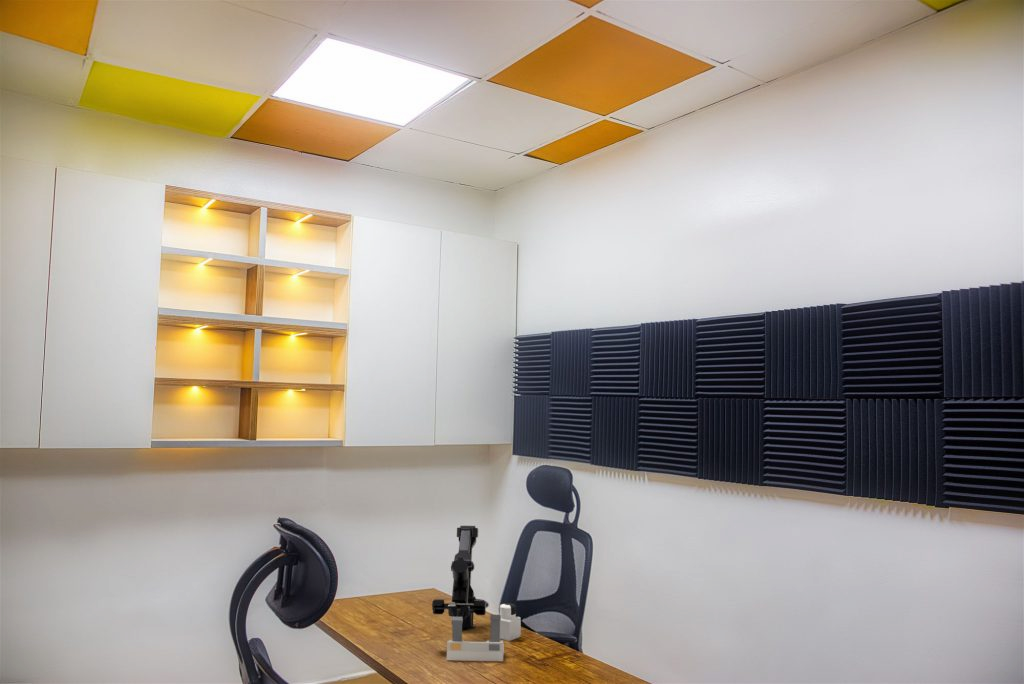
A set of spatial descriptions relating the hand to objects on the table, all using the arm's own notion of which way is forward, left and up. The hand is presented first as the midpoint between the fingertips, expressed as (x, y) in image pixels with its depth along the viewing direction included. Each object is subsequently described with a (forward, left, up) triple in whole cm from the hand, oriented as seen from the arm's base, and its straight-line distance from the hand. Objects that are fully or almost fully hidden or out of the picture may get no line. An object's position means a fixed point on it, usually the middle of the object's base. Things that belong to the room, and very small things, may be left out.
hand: (457, 629), depth 258 cm
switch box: (-4, +5, -9) cm, 11 cm away
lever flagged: (0, 0, -5) cm, 5 cm away
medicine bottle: (-28, -4, -9) cm, 29 cm away
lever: (-10, +9, -5) cm, 14 cm away
